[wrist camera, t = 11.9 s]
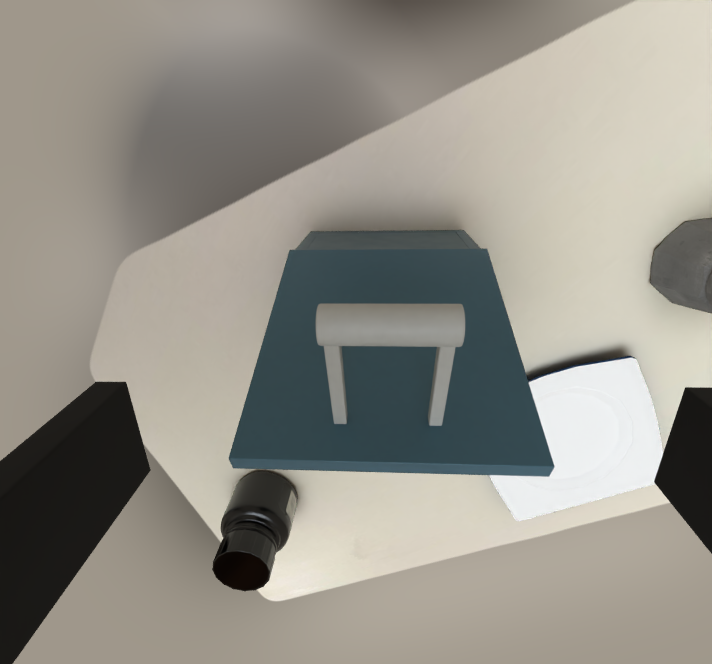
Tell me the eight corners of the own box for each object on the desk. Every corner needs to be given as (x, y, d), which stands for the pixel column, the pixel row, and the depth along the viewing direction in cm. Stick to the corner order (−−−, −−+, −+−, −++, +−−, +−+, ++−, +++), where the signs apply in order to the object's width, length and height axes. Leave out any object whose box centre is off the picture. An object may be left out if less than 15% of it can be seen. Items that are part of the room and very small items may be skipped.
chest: (451, 381, 51) (466, 432, 42) (319, 379, 52) (306, 429, 43) (463, 229, 44) (484, 252, 35) (310, 231, 45) (291, 253, 36)
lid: (549, 477, 21) (617, 355, 15) (232, 468, 22) (176, 351, 16) (485, 258, 35) (507, 149, 29) (291, 259, 36) (273, 154, 30)
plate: (662, 468, 54) (676, 484, 52) (506, 512, 59) (511, 528, 57) (629, 335, 48) (642, 346, 45) (455, 397, 52) (458, 409, 50)
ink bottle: (273, 528, 63) (249, 608, 52) (223, 497, 61) (187, 574, 50) (312, 490, 60) (296, 568, 49) (260, 457, 58) (231, 530, 47)
